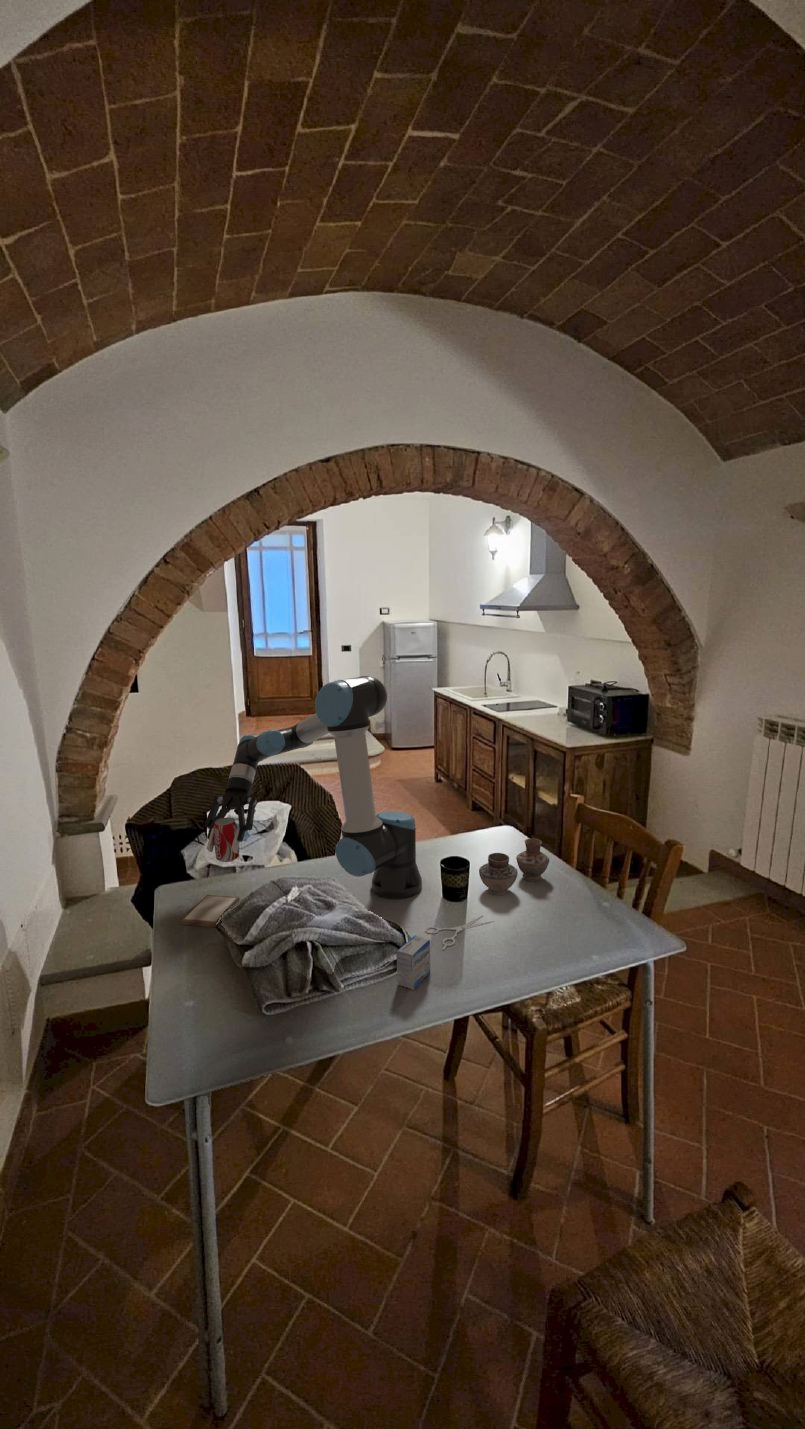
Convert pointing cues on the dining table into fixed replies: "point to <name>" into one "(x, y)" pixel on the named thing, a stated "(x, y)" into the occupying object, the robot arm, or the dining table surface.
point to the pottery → (504, 875)
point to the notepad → (209, 910)
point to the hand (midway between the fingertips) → (221, 850)
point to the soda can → (225, 839)
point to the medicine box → (413, 962)
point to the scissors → (458, 929)
